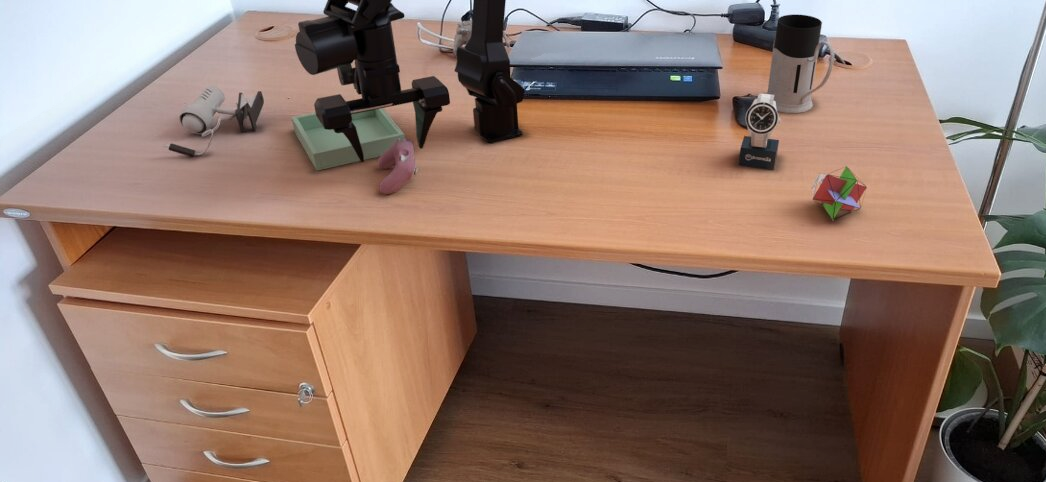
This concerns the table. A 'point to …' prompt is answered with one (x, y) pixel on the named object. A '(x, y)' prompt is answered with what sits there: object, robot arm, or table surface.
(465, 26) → the elephant statuette
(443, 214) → the table surface
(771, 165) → the watch
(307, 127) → the tray
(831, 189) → the geometric puzzle
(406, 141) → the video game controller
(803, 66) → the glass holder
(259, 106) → the clip-on lamp
